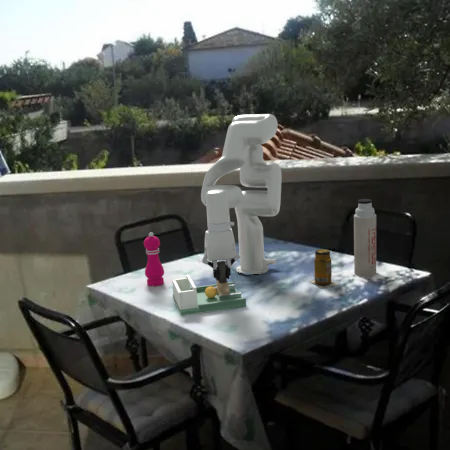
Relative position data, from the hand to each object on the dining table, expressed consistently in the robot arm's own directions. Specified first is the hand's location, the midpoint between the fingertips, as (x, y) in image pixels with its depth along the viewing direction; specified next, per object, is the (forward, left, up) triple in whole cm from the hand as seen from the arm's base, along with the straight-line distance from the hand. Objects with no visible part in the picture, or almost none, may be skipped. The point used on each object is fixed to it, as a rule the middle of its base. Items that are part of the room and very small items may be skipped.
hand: (222, 278), depth 217 cm
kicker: (0, 0, -6) cm, 6 cm away
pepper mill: (+20, -26, -8) cm, 34 cm away
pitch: (+5, 0, -8) cm, 9 cm away
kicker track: (-1, 0, -7) cm, 7 cm away
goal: (+13, 0, -7) cm, 15 cm away
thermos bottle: (-56, -6, -8) cm, 57 cm away
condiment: (-38, -2, -8) cm, 39 cm away
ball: (+4, 0, -5) cm, 6 cm away
